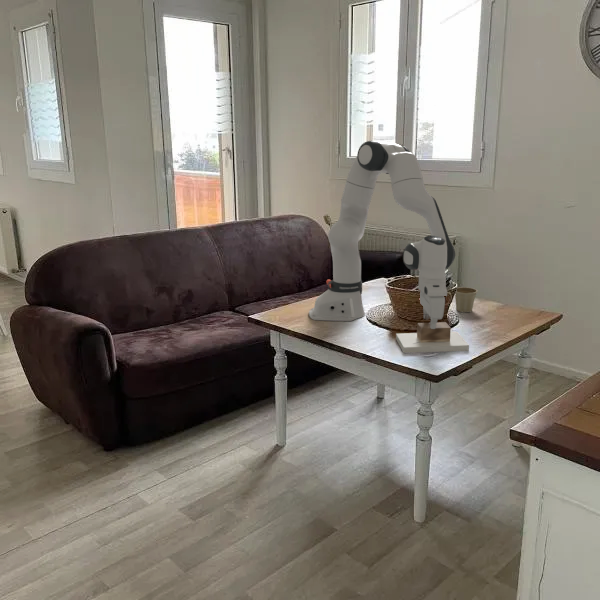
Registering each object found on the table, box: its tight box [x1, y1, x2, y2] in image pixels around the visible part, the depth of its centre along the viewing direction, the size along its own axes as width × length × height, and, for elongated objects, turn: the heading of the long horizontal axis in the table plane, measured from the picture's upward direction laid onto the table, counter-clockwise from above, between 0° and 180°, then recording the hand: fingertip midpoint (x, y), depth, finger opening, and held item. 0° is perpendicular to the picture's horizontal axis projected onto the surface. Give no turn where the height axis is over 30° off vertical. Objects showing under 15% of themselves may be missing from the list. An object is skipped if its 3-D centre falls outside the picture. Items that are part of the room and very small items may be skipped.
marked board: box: [395, 331, 470, 354], centre depth 212 cm, size 22×14×2 cm, turn 92°
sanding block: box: [416, 321, 452, 343], centre depth 211 cm, size 10×6×5 cm, turn 92°
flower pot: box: [454, 286, 479, 313], centre depth 248 cm, size 9×9×9 cm
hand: (429, 323), depth 210 cm, fingers open, 8 cm apart
